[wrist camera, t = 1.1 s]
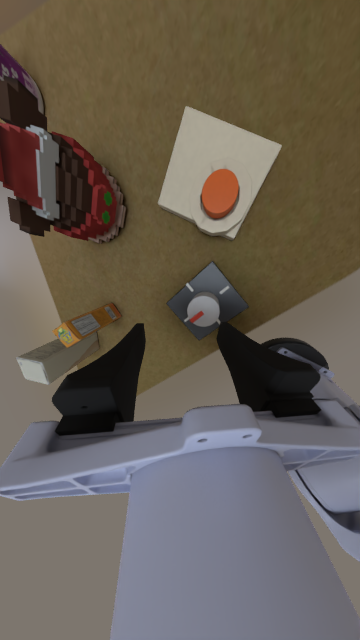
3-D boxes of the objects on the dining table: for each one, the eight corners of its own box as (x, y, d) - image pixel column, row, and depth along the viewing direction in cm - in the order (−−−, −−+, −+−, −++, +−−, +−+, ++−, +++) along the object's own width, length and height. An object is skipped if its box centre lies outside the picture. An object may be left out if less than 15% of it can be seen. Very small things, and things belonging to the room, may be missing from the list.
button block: (276, 157, 16) (291, 128, 13) (229, 246, 20) (232, 242, 16) (188, 120, 16) (182, 84, 13) (160, 214, 20) (149, 204, 17)
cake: (76, 155, 20) (-526, -335, 4) (134, 175, 19) (-313, -338, 3) (73, 236, 24) (-217, 170, 8) (121, 255, 24) (-93, 225, 7)
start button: (243, 186, 15) (246, 176, 13) (225, 224, 16) (226, 219, 15) (212, 173, 15) (212, 162, 14) (197, 211, 17) (195, 205, 15)
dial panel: (212, 261, 21) (211, 260, 18) (245, 303, 22) (249, 307, 19) (170, 299, 24) (165, 303, 22) (200, 334, 25) (199, 341, 23)
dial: (206, 285, 20) (205, 289, 16) (224, 307, 20) (226, 315, 17) (186, 303, 21) (180, 310, 18) (202, 323, 22) (200, 333, 18)
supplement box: (112, 323, 29) (64, 349, 20) (102, 309, 28) (48, 329, 19) (123, 317, 28) (78, 341, 19) (113, 302, 27) (61, 319, 18)
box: (81, 345, 33) (23, 379, 23) (77, 328, 32) (13, 357, 22) (100, 349, 32) (48, 386, 22) (97, 332, 31) (40, 363, 20)
